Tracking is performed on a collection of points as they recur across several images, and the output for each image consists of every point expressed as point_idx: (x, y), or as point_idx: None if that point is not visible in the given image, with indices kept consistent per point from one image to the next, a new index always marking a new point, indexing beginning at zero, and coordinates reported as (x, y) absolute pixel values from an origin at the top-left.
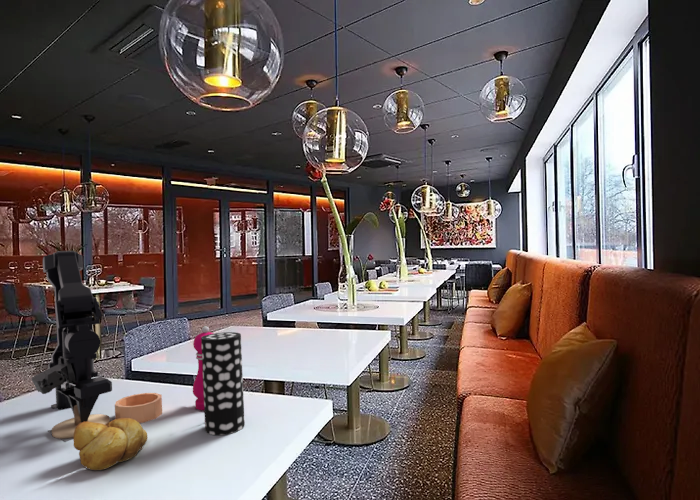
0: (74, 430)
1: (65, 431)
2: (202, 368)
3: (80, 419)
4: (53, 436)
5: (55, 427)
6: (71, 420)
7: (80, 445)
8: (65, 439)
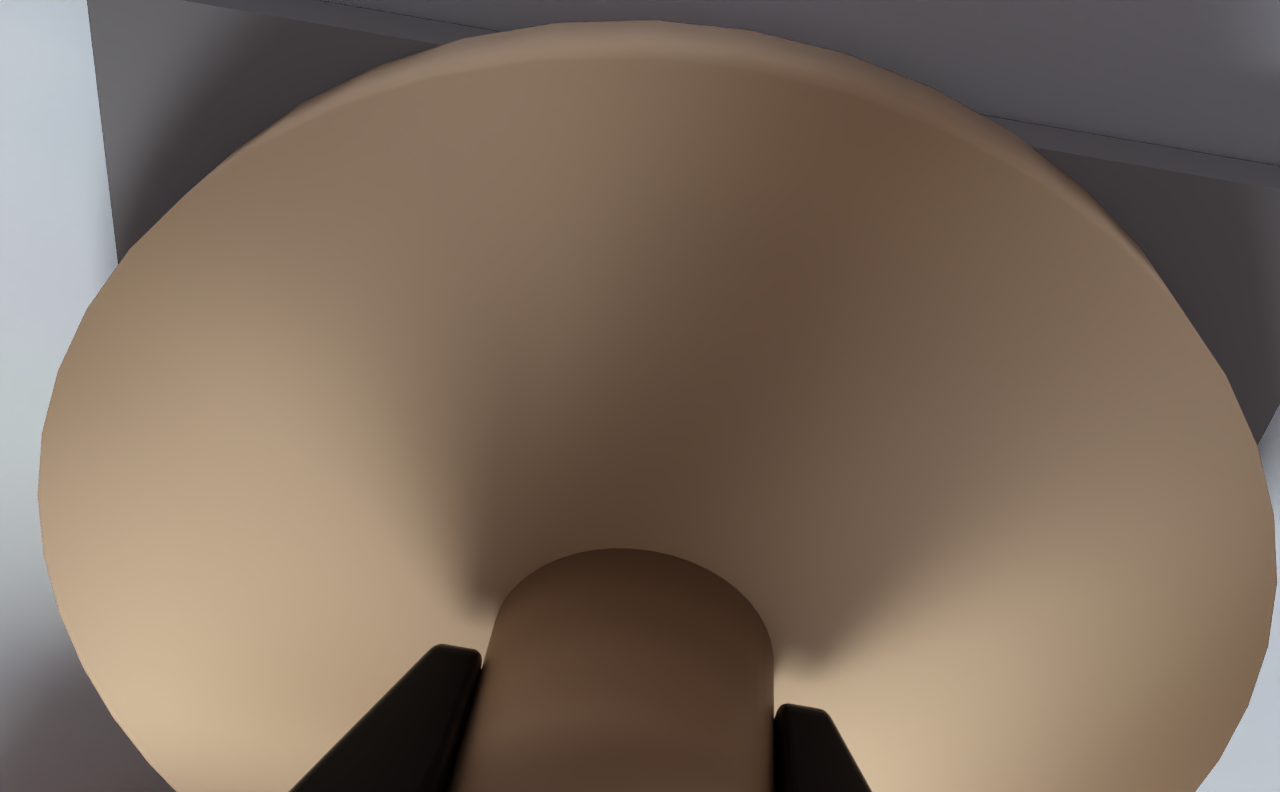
0: (298, 372)
1: (435, 244)
2: None
3: (439, 695)
4: (734, 31)
5: (1054, 302)
6: (1088, 692)
7: None
8: (234, 69)
